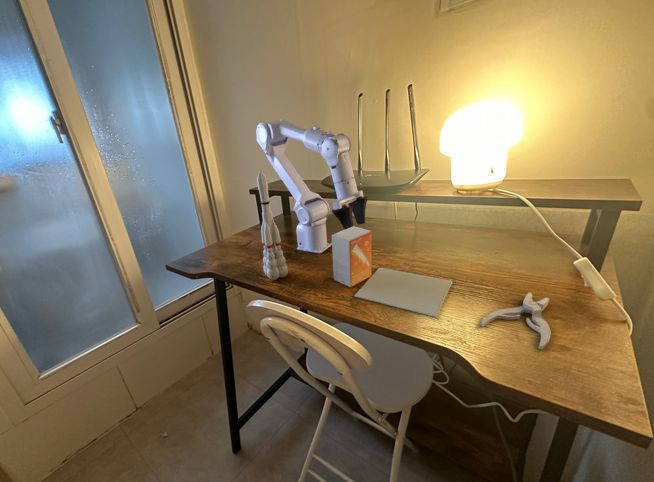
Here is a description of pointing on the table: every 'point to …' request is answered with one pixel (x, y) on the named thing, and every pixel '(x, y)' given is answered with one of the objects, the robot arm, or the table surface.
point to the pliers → (537, 318)
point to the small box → (352, 255)
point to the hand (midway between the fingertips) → (355, 227)
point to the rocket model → (270, 236)
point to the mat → (406, 291)
